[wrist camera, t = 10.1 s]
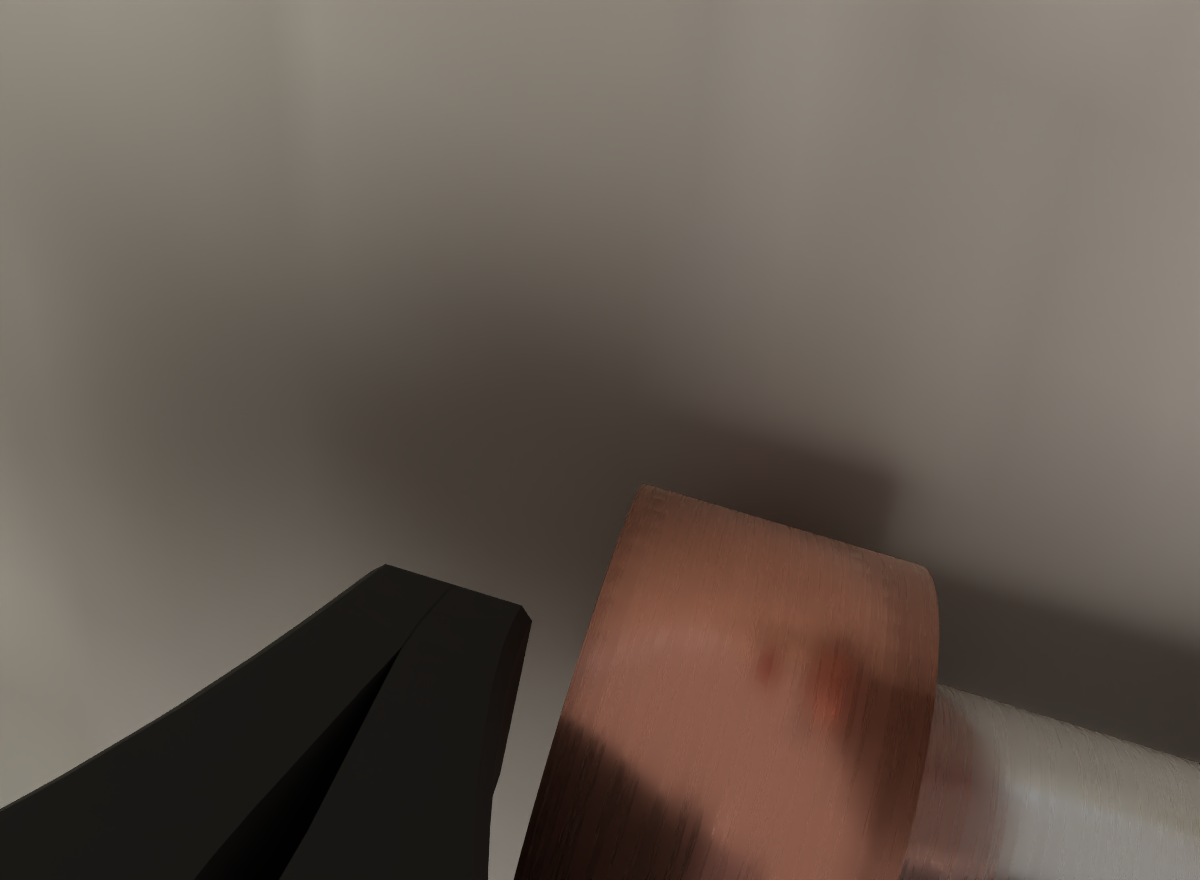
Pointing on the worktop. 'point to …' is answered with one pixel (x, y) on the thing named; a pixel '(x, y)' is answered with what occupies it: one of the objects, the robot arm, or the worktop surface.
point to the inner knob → (819, 731)
